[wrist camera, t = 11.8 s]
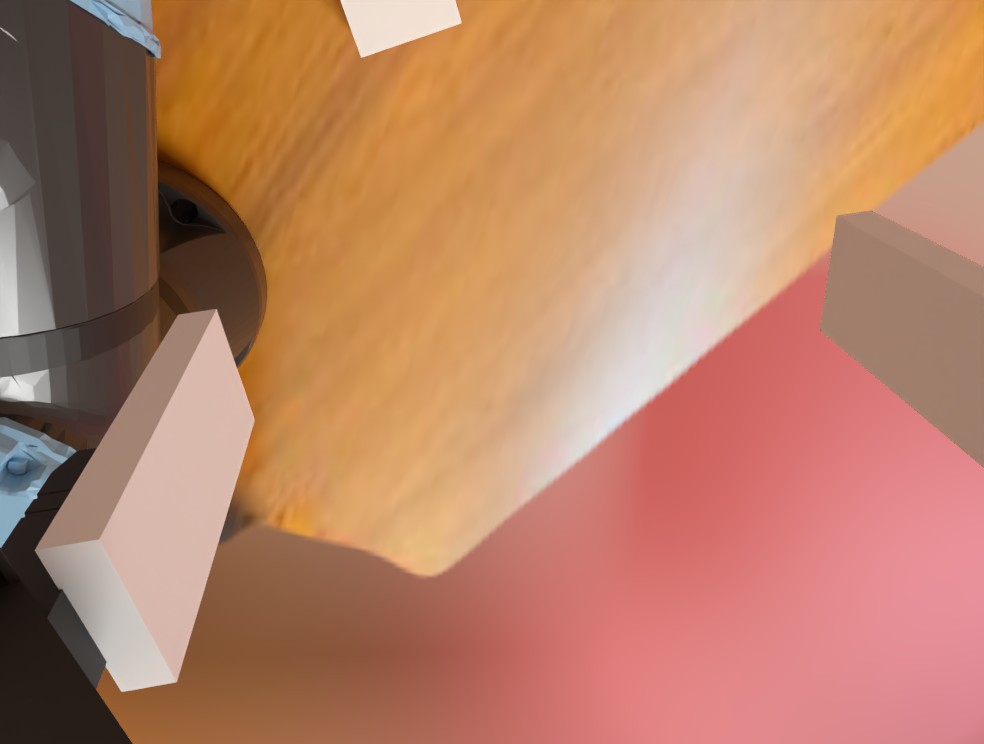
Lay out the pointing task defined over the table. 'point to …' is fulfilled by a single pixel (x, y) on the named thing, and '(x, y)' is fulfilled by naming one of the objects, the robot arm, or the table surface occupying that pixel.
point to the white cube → (396, 21)
